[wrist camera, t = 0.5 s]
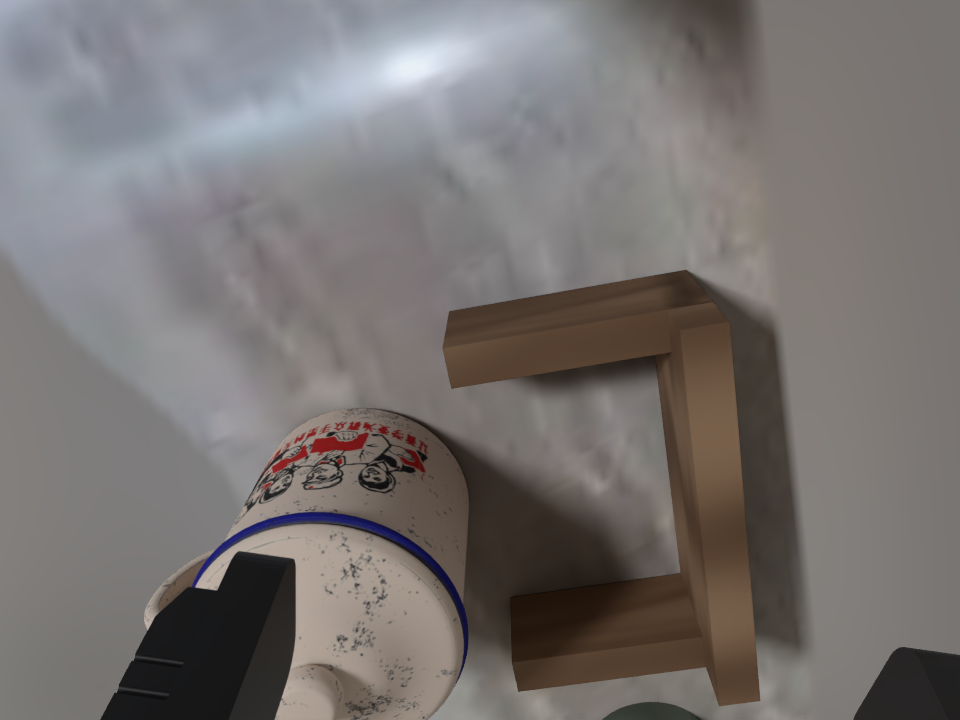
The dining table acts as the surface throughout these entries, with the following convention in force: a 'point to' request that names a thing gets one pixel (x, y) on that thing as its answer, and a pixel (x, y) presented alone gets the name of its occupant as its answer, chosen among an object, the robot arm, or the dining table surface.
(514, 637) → the walnut cup holder
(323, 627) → the teacup with lid
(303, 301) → the dining table surface
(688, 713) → the green ceramic sugar pot
